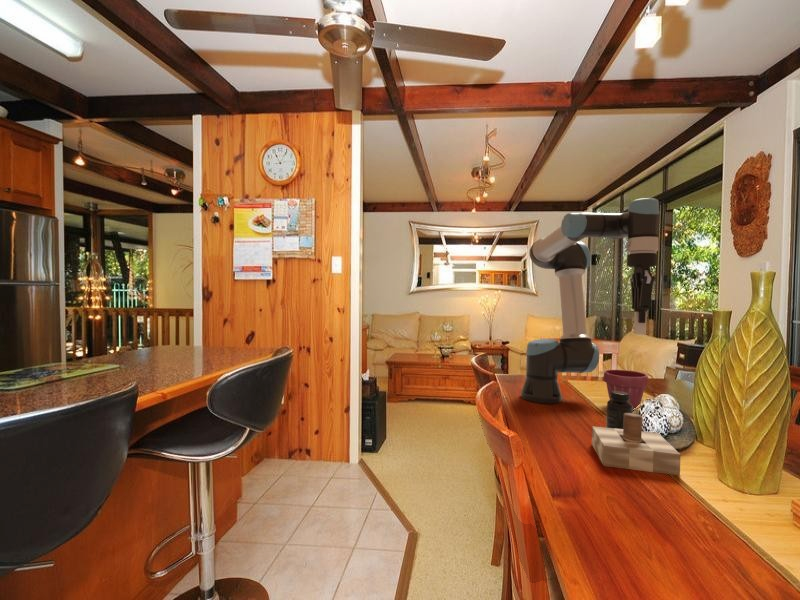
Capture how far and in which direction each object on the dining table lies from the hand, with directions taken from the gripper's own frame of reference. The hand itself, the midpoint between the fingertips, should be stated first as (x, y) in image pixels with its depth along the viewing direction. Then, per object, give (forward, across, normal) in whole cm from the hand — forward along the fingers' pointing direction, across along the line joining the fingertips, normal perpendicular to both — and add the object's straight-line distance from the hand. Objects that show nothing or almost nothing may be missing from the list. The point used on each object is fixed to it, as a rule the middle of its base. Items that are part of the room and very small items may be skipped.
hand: (639, 333), depth 111 cm
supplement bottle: (+31, -3, -4) cm, 31 cm away
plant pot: (+31, -32, +5) cm, 45 cm away
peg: (+30, +17, -6) cm, 35 cm away
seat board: (+30, +17, -6) cm, 35 cm away
